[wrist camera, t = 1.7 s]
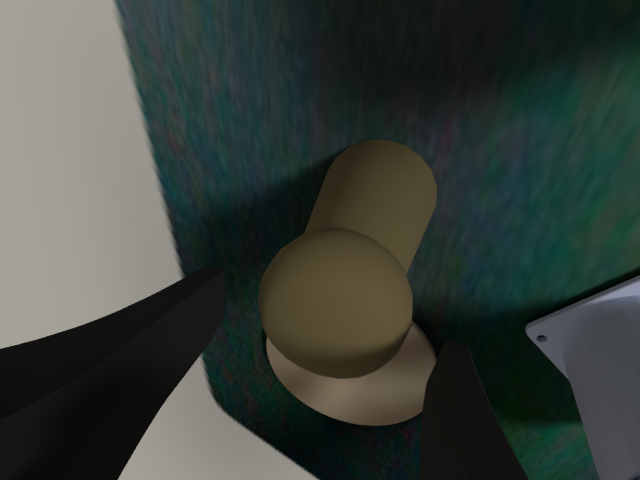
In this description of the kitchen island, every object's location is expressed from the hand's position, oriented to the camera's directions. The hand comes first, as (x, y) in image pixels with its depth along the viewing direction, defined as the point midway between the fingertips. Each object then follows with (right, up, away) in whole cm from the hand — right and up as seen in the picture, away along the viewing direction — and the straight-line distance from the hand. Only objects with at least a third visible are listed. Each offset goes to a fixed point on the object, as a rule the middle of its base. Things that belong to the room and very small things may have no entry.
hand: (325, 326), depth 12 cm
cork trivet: (+2, -6, +15) cm, 17 cm away
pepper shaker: (+3, +5, +9) cm, 11 cm away
